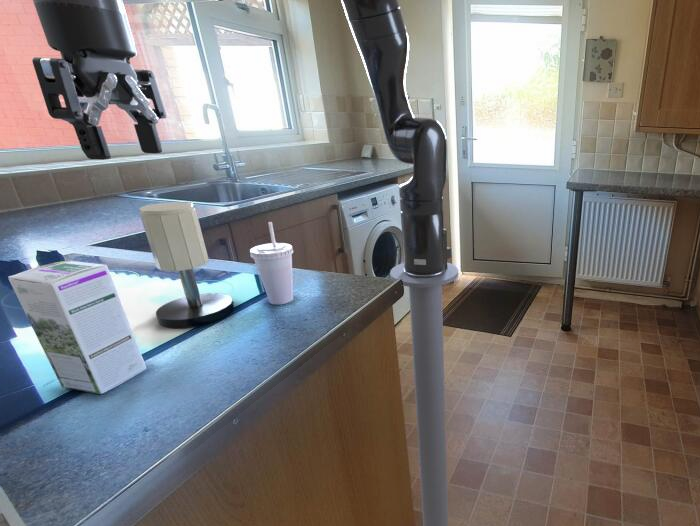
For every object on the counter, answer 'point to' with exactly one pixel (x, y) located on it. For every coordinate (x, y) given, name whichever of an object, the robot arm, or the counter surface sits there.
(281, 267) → the smoothie
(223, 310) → the towel holder
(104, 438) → the counter surface
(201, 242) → the cup
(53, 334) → the syrup box
